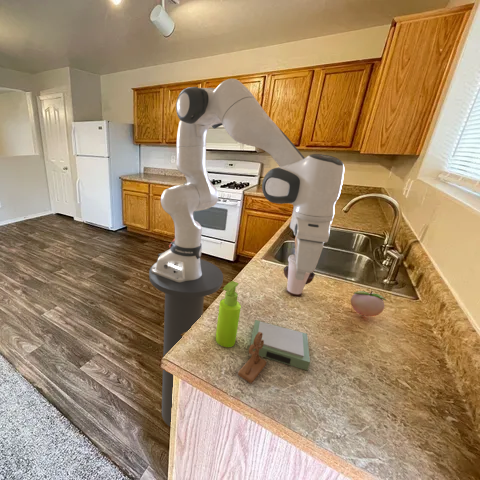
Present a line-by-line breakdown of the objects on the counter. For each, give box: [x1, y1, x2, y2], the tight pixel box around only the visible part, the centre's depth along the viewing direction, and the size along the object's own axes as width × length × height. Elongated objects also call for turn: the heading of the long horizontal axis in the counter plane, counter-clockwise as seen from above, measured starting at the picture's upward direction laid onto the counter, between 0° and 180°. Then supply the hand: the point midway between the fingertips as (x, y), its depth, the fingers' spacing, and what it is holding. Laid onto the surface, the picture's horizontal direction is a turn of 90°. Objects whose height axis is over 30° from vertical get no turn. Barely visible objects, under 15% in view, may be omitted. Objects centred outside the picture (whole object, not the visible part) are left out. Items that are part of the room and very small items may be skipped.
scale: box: [249, 319, 311, 372], centre depth 77 cm, size 15×12×4 cm
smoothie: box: [286, 253, 310, 294], centre depth 70 cm, size 6×6×14 cm
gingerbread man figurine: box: [237, 332, 267, 384], centre depth 68 cm, size 9×4×12 cm, turn 135°
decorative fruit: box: [350, 290, 387, 317], centre depth 91 cm, size 9×8×10 cm
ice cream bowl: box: [283, 265, 316, 297], centre depth 103 cm, size 11×11×15 cm
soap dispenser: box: [215, 280, 242, 348], centre depth 76 cm, size 6×7×20 cm
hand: (298, 272), depth 71 cm, fingers closed on smoothie, 6 cm apart
